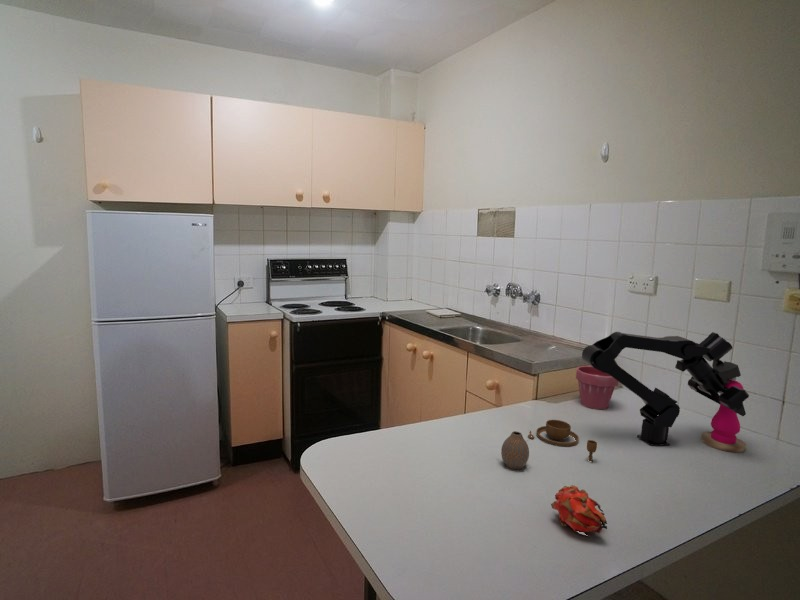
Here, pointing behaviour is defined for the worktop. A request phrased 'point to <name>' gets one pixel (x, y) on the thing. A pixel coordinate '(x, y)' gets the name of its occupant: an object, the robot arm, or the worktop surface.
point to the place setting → (562, 435)
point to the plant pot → (595, 387)
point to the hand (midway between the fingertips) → (732, 409)
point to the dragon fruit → (578, 510)
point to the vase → (515, 451)
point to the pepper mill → (726, 421)
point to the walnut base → (723, 444)
